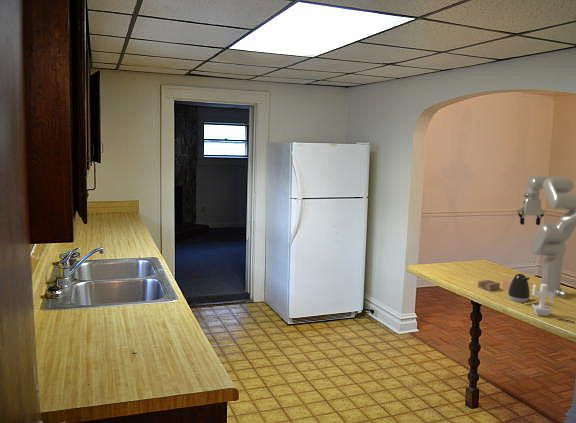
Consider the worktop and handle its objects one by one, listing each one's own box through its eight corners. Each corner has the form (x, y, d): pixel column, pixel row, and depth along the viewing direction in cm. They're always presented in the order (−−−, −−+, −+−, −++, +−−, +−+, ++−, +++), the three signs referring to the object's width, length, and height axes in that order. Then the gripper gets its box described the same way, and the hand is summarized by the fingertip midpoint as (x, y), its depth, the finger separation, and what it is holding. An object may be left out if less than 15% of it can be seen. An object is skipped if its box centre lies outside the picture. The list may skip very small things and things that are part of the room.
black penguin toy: (519, 306, 255) (522, 277, 253) (503, 300, 265) (505, 272, 263) (533, 304, 259) (536, 275, 258) (517, 298, 269) (519, 270, 267)
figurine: (553, 317, 238) (557, 287, 236) (532, 315, 240) (535, 285, 238) (549, 313, 245) (552, 283, 243) (528, 311, 247) (531, 281, 245)
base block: (499, 290, 280) (499, 283, 280) (489, 291, 276) (490, 284, 276) (487, 286, 287) (487, 279, 286) (477, 288, 283) (478, 281, 282)
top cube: (515, 290, 282) (516, 281, 281) (510, 291, 279) (510, 282, 279) (507, 287, 286) (508, 279, 285) (502, 288, 284) (503, 280, 283)
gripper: (521, 196, 298) (518, 225, 300) (549, 197, 298) (547, 225, 300) (515, 195, 305) (512, 223, 307) (543, 196, 306) (540, 224, 308)
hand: (529, 224), depth 304 cm, fingers open, 9 cm apart
